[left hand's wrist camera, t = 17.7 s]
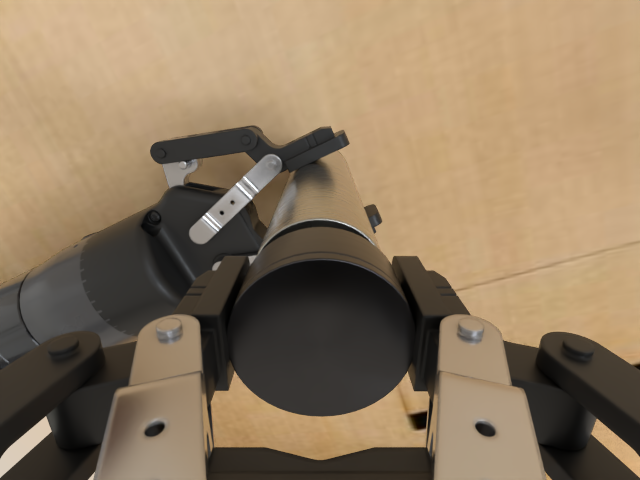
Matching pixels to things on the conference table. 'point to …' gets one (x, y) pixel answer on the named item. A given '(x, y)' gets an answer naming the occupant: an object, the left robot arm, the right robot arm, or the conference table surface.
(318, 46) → the conference table surface
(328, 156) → the metal cylinder
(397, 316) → the lid
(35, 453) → the left robot arm
